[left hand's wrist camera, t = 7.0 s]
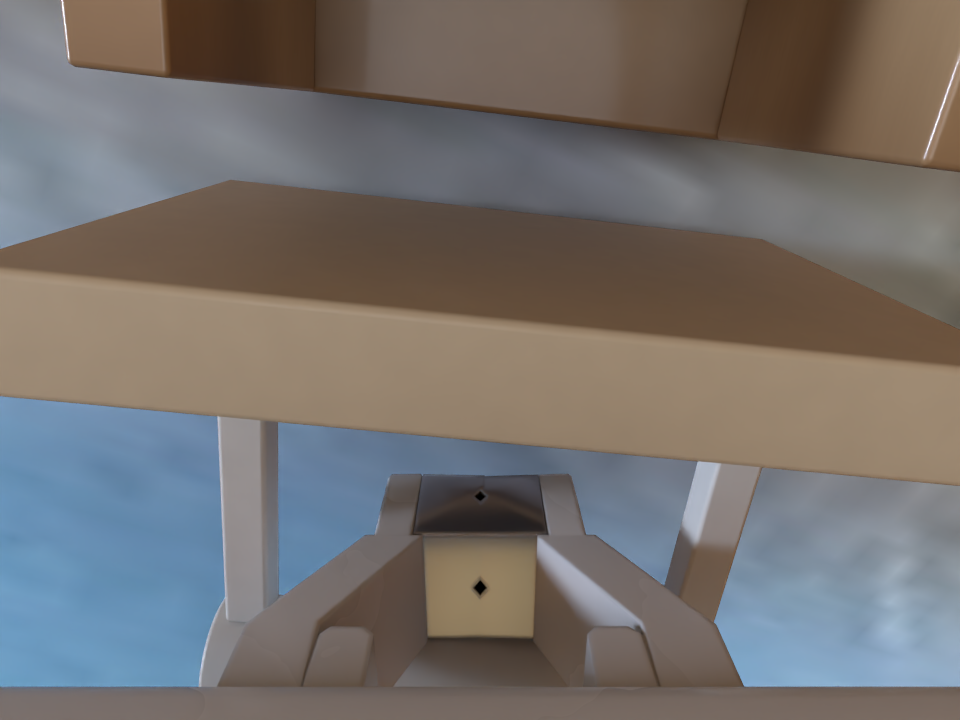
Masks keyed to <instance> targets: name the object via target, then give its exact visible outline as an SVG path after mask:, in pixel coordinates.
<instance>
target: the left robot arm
mask: <svg viewBox="0 0 960 720" xmlns="http://www.w3.org/2000/svg"><path fill="white" fill-rule="evenodd" d="M474 637H485V638H522V639H533V642H534V643H535V644H536V646H537V647H538V648H539V650H540V651H541V652H542V654H543V655H544V656H545V657H546V659H547V660H548V661H549V663H550V664H551V665H552V667H553V668H554V669H555V670H556V672H557V673H558V674H559V676H560V677H561V678H562V680H563V681H564V682H565V683H566V685H567V686H568V687H393V686H394V685H395V683H396V682H397V681H398V679H399V678H400V677H401V676H402V674H403V673H404V672H405V670H406V669H407V668H408V666H409V665H410V664H411V663H412V661H413V660H414V659H415V657H416V656H417V655H418V654H419V652H420V651H421V650H422V648H423V647H424V646H425V644H426V643H427V639H438V638H474ZM0 720H960V687H744V685H743V683H742V681H741V679H740V677H739V674H738V672H737V670H736V668H735V665H734V663H733V661H732V659H731V657H730V654H729V652H728V650H727V648H726V645H725V643H724V641H723V639H722V637H721V634H720V632H719V630H718V628H717V626H716V624H715V623H713V622H712V621H711V620H709V619H708V618H707V617H705V616H704V615H703V614H701V613H700V612H699V611H697V610H696V609H694V608H693V607H692V606H690V605H689V604H688V603H686V602H685V601H684V600H682V599H681V598H680V597H678V596H677V595H676V594H674V593H673V592H672V591H670V590H669V589H667V588H666V587H665V586H663V585H662V584H661V583H659V582H658V581H657V580H655V579H654V578H653V577H651V576H650V575H649V574H647V573H646V572H645V571H643V570H642V569H640V568H639V567H638V566H636V565H635V564H634V563H632V562H631V561H630V560H628V559H627V558H626V557H624V556H623V555H622V554H620V553H619V552H618V551H616V550H615V549H613V548H612V547H611V546H609V545H608V544H607V543H605V542H604V541H603V540H601V539H600V538H599V537H597V536H596V535H586V532H585V528H584V524H583V520H582V516H581V512H580V508H579V504H578V500H577V496H576V492H575V488H574V484H573V480H572V476H570V475H569V474H545V475H510V476H485V475H435V474H423V476H422V475H421V474H392V475H391V476H390V477H389V478H388V482H387V486H386V490H385V494H384V498H383V502H382V506H381V510H380V514H379V518H378V522H377V526H376V530H375V534H374V535H365V536H363V537H362V538H361V539H359V540H358V541H357V542H355V543H354V544H352V545H351V546H350V547H348V548H347V549H346V550H344V551H343V552H342V553H340V554H339V555H338V556H336V557H335V558H334V559H332V560H331V561H329V562H328V563H327V564H325V565H324V566H323V567H321V568H320V569H319V570H317V571H316V572H315V573H313V574H312V575H310V576H309V577H308V578H306V579H305V580H304V581H302V582H301V583H300V584H298V585H297V586H296V587H294V588H293V589H291V590H290V591H289V592H287V593H286V594H285V595H283V596H282V597H281V598H279V599H278V600H277V601H275V602H274V603H273V604H271V605H270V606H268V607H267V608H266V609H264V610H263V611H262V612H260V613H259V614H258V615H256V616H255V617H254V618H252V619H251V620H249V621H248V622H247V623H245V626H244V628H243V630H242V632H241V634H240V637H239V639H238V641H237V643H236V645H235V648H234V650H233V652H232V654H231V656H230V658H229V661H228V663H227V665H226V667H225V669H224V672H223V674H222V676H221V678H220V680H219V683H218V685H217V687H0Z"/></svg>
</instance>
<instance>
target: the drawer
mask: <svg viewBox="0 0 960 720" xmlns="http://www.w3.org/2000/svg"><path fill="white" fill-rule="evenodd" d="M61 9H62V18H63V27H64V36H65V44H66V53H67V60H68V62H69V64H71V65H73V66H75V67H81V68H89V69H97V70H106V71H114V72H123V73H131V74H139V75H148V76H156V77H165V78H175V79H185V80H196V81H206V82H217V83H227V84H238V85H248V86H258V87H269V88H279V89H290V90H300V91H311V92H320V93H328V94H336V95H345V96H353V97H362V98H370V99H378V100H387V101H395V102H404V103H412V104H420V105H429V106H437V107H445V108H454V109H462V110H471V111H479V112H487V113H496V114H504V115H513V116H521V117H529V118H538V119H546V120H555V121H563V122H571V123H580V124H588V125H597V126H605V127H613V128H622V129H630V130H638V131H647V132H655V133H664V134H672V135H680V136H689V137H697V138H706V139H714V140H722V141H729V142H737V143H744V144H751V145H759V146H766V147H774V148H781V149H789V150H796V151H803V152H811V153H818V154H826V155H833V156H840V157H848V158H855V159H863V160H870V161H878V162H885V163H892V164H900V165H907V166H915V167H922V168H930V169H939V170H947V171H955V172H960V0H61ZM0 396H5V397H15V398H26V399H37V400H47V401H58V402H69V403H80V404H90V405H101V406H112V407H122V408H133V409H144V410H154V411H165V412H176V413H186V414H197V415H208V416H217V417H218V440H219V463H220V487H221V510H222V534H223V557H224V580H225V598H224V600H223V601H222V603H221V605H220V607H219V609H218V611H217V613H216V615H215V617H214V620H213V622H212V625H211V628H210V631H209V634H208V637H207V641H206V644H205V648H204V653H203V657H202V663H201V669H200V677H199V687H217V685H218V683H219V680H220V678H221V676H222V674H223V672H224V669H225V667H226V665H227V663H228V661H229V658H230V656H231V654H232V652H233V650H234V648H235V645H236V643H237V641H238V639H239V637H240V634H241V632H242V630H243V628H244V626H245V623H247V622H248V621H249V620H251V619H252V618H254V617H255V616H256V615H258V614H259V613H260V612H262V611H263V610H264V609H266V608H267V607H268V606H270V605H271V604H273V603H274V602H275V601H277V600H278V599H279V598H281V597H282V596H283V595H279V566H278V422H283V423H293V424H304V425H315V426H325V427H336V428H347V429H357V430H368V431H379V432H389V433H400V434H411V435H422V436H432V437H443V438H454V439H464V440H475V441H486V442H496V443H507V444H518V445H528V446H539V447H550V448H560V449H571V450H582V451H593V452H603V453H614V454H625V455H635V456H646V457H657V458H667V459H678V460H689V461H698V463H697V467H696V471H695V475H694V478H693V482H692V486H691V489H690V493H689V497H688V501H687V504H686V508H685V512H684V515H683V519H682V523H681V527H680V530H679V534H678V538H677V541H676V545H675V549H674V552H673V556H672V560H671V564H670V567H669V571H668V575H667V578H666V582H665V587H666V588H667V589H669V590H670V591H672V592H673V593H674V594H676V595H677V596H678V597H680V598H681V599H682V600H684V601H685V602H686V603H688V604H689V605H690V606H692V607H693V608H694V609H696V610H697V611H699V612H700V613H701V614H703V615H704V616H705V617H707V618H708V619H709V620H711V621H712V622H713V623H714V620H715V616H716V613H717V610H718V607H719V604H720V601H721V597H722V594H723V591H724V588H725V585H726V581H727V578H728V575H729V572H730V569H731V565H732V562H733V559H734V556H735V553H736V549H737V546H738V543H739V540H740V537H741V533H742V530H743V527H744V524H745V521H746V517H747V514H748V511H749V508H750V505H751V501H752V498H753V495H754V492H755V489H756V485H757V482H758V479H759V476H760V473H761V469H762V467H764V468H774V469H785V470H796V471H806V472H817V473H828V474H838V475H849V476H860V477H870V478H881V479H892V480H903V481H913V482H924V483H935V484H945V485H956V486H960V330H959V329H957V328H954V327H952V326H950V325H948V324H946V323H944V322H941V321H939V320H937V319H935V318H933V317H930V316H928V315H926V314H924V313H922V312H920V311H917V310H915V309H913V308H911V307H909V306H906V305H904V304H902V303H900V302H898V301H896V300H893V299H891V298H889V297H887V296H885V295H882V294H880V293H878V292H876V291H874V290H871V289H869V288H867V287H865V286H863V285H861V284H858V283H856V282H854V281H852V280H850V279H847V278H845V277H843V276H841V275H839V274H837V273H834V272H832V271H830V270H828V269H826V268H823V267H821V266H819V265H817V264H815V263H813V262H810V261H808V260H806V259H804V258H802V257H799V256H797V255H795V254H793V253H791V252H789V251H786V250H784V249H782V248H780V247H778V246H775V245H773V244H771V243H769V242H767V241H765V240H762V239H754V238H746V237H737V236H728V235H719V234H710V233H701V232H692V231H683V230H674V229H665V228H656V227H647V226H638V225H629V224H620V223H611V222H602V221H593V220H584V219H575V218H566V217H558V216H549V215H540V214H531V213H522V212H513V211H504V210H495V209H486V208H477V207H468V206H459V205H450V204H441V203H432V202H423V201H414V200H405V199H396V198H387V197H378V196H370V195H361V194H352V193H343V192H334V191H325V190H316V189H307V188H298V187H289V186H280V185H271V184H262V183H253V182H244V181H235V180H229V181H225V182H222V183H219V184H215V185H212V186H209V187H205V188H202V189H199V190H195V191H192V192H189V193H185V194H182V195H179V196H175V197H172V198H169V199H165V200H162V201H159V202H155V203H152V204H149V205H145V206H142V207H139V208H135V209H132V210H129V211H125V212H122V213H119V214H115V215H112V216H109V217H105V218H102V219H99V220H96V221H92V222H89V223H86V224H82V225H79V226H76V227H72V228H69V229H66V230H62V231H59V232H56V233H52V234H49V235H46V236H42V237H39V238H36V239H32V240H29V241H26V242H22V243H19V244H16V245H12V246H9V247H6V248H2V249H0ZM393 687H568V686H567V685H566V683H565V682H564V681H563V680H562V678H561V677H560V676H559V674H558V673H557V672H556V670H555V669H554V668H553V667H552V665H551V664H550V663H549V661H548V660H547V659H546V657H545V656H544V655H543V654H542V652H541V651H540V650H539V648H538V647H537V646H536V644H535V643H534V642H533V639H522V638H485V637H474V638H438V639H427V643H426V644H425V646H424V647H423V648H422V650H421V651H420V652H419V654H418V655H417V656H416V657H415V659H414V660H413V661H412V663H411V664H410V665H409V666H408V668H407V669H406V670H405V672H404V673H403V674H402V676H401V677H400V678H399V679H398V681H397V682H396V683H395V685H394V686H393Z"/></svg>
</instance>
